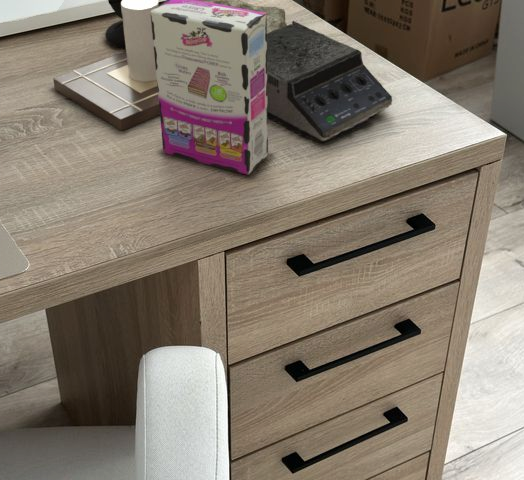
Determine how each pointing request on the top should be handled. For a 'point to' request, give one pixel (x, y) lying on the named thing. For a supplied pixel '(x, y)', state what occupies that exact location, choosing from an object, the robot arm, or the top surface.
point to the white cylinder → (139, 38)
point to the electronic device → (319, 84)
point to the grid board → (111, 92)
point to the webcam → (116, 27)
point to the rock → (273, 16)
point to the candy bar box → (212, 83)
